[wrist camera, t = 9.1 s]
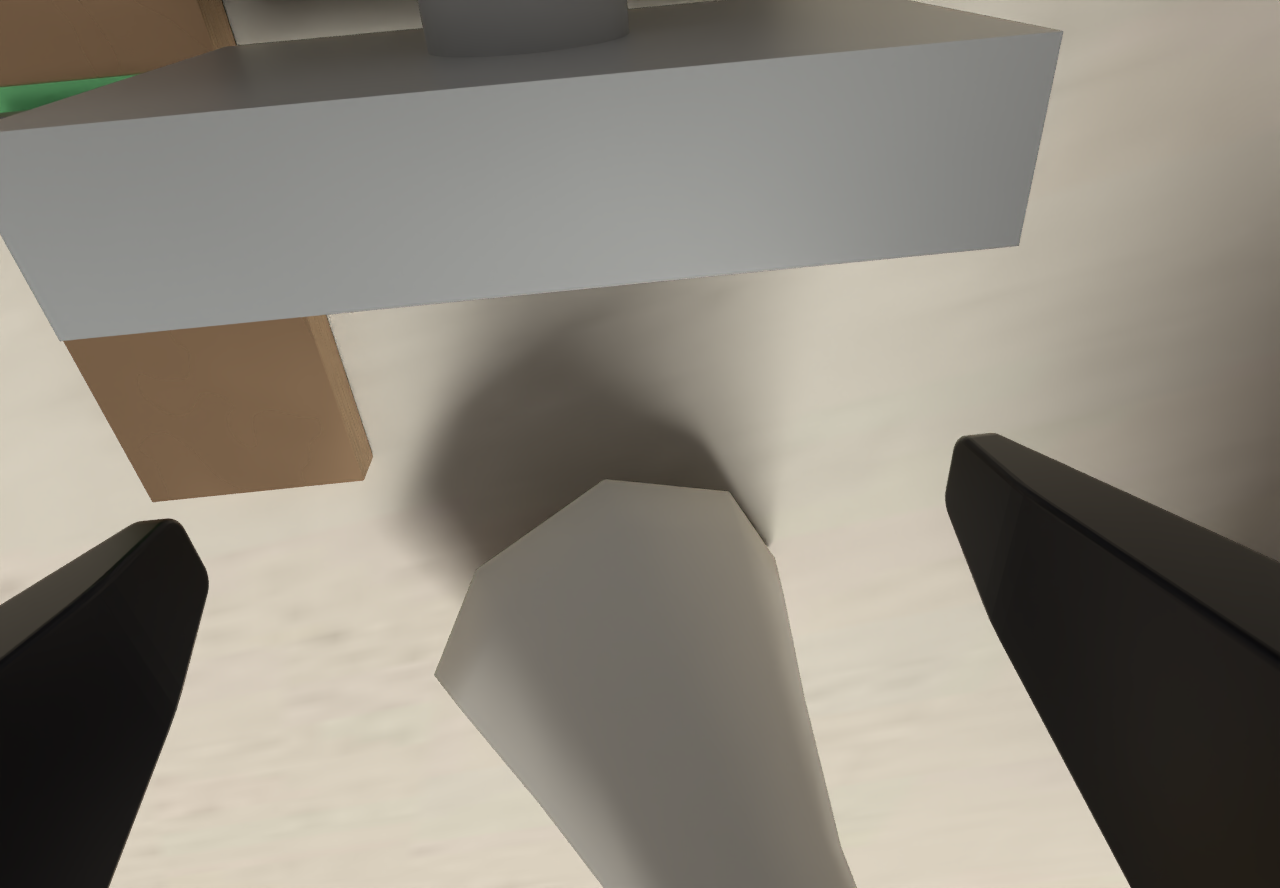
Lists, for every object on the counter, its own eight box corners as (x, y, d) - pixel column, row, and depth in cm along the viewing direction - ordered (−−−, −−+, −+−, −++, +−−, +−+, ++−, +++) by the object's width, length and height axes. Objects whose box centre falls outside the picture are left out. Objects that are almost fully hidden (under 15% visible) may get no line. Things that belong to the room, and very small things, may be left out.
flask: (366, 685, 15) (478, 1485, 8) (594, 413, 13) (1024, 1139, 6) (621, 729, 20) (839, 1254, 12) (817, 533, 18) (1209, 1019, 10)
